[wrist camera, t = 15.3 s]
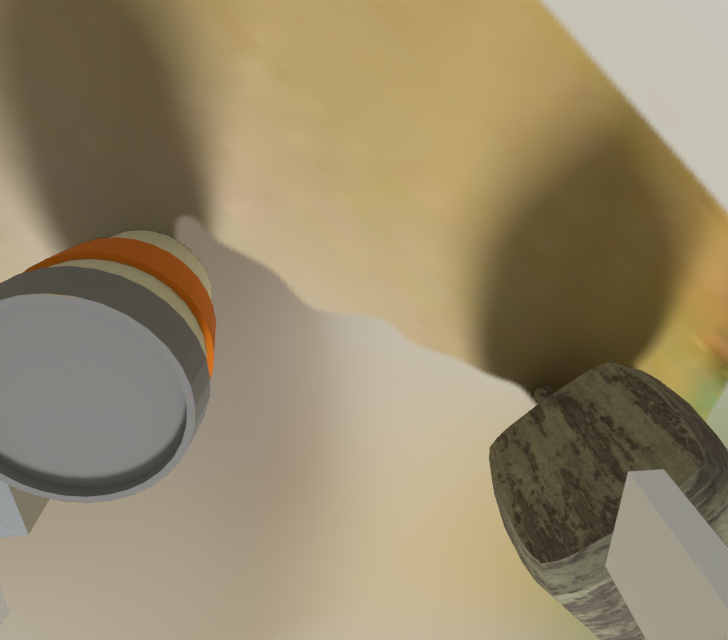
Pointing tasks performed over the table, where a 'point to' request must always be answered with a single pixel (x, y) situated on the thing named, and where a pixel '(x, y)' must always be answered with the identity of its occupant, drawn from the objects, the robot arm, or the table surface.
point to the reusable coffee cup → (103, 367)
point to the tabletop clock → (598, 481)
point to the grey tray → (18, 510)
